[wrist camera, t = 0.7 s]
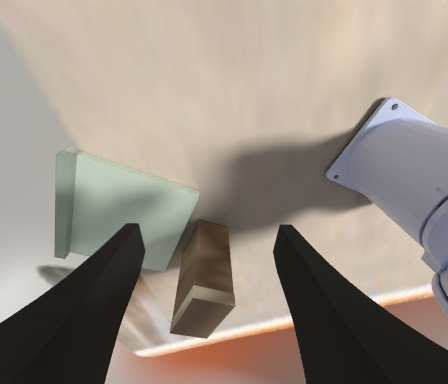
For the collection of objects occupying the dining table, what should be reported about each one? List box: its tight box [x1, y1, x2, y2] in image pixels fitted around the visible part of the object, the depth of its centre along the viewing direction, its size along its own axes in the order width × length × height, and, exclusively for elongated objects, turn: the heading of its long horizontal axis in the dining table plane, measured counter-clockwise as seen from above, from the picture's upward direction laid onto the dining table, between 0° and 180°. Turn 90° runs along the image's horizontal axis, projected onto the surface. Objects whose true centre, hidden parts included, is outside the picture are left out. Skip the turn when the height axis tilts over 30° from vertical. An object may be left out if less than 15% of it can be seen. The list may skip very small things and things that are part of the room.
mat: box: [55, 147, 200, 273], centre depth 22 cm, size 12×13×2 cm
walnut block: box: [170, 219, 235, 339], centre depth 21 cm, size 4×6×9 cm, turn 156°
